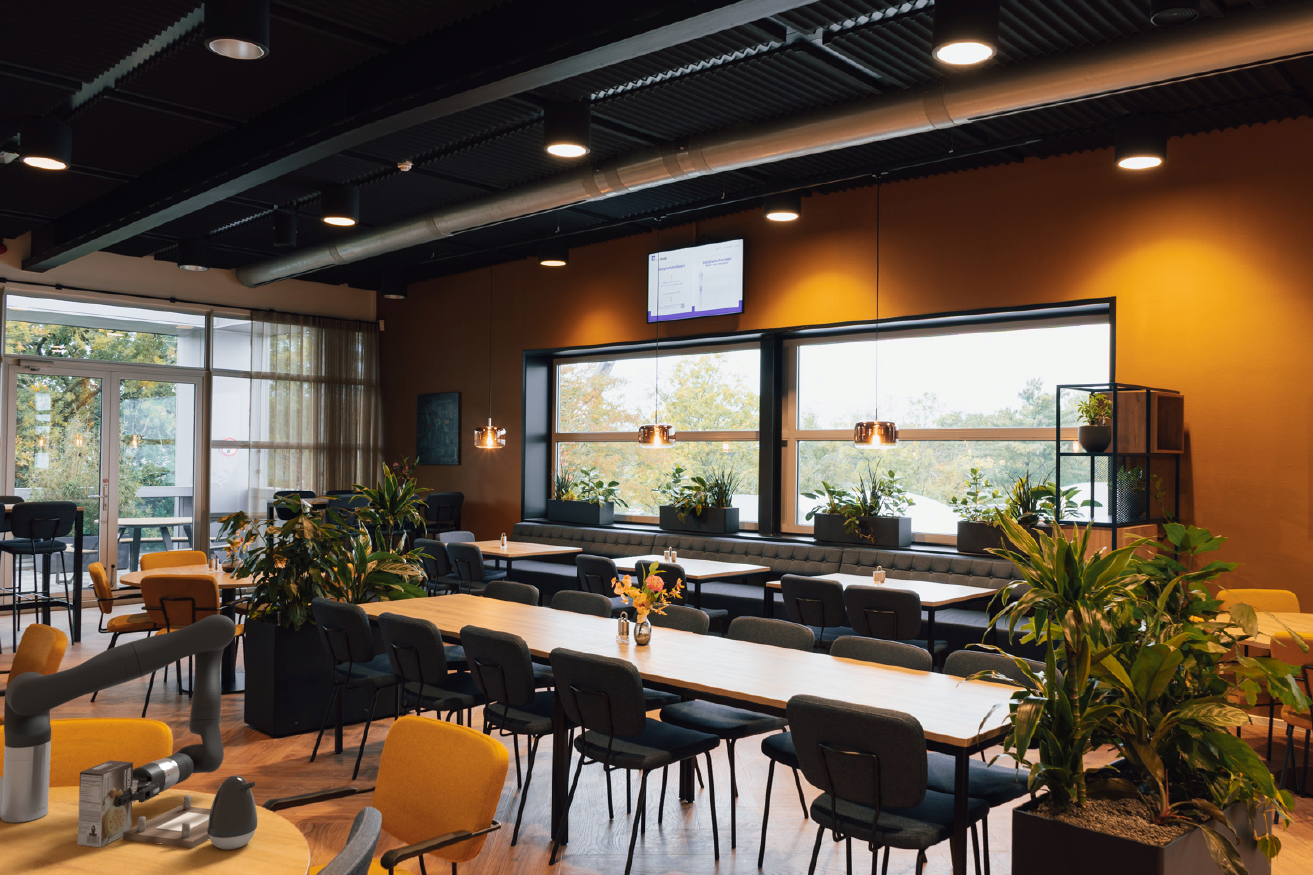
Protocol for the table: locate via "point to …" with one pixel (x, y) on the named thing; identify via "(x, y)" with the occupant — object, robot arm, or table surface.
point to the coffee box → (104, 803)
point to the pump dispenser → (232, 814)
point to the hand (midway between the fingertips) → (99, 800)
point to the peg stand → (173, 827)
